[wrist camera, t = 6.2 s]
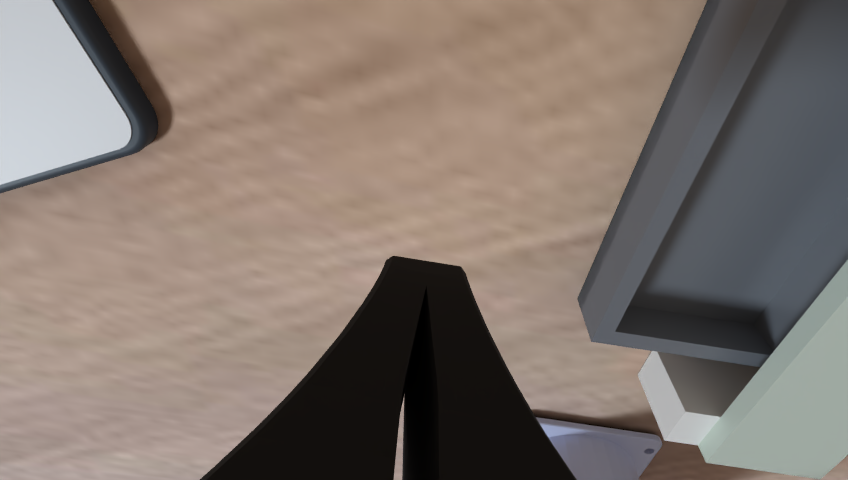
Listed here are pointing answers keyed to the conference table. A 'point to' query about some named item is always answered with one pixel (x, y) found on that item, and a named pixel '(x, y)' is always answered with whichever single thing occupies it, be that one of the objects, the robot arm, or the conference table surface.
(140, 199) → the conference table surface
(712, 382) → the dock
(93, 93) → the smartphone
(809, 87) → the shell tray
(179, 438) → the conference table surface
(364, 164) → the conference table surface
